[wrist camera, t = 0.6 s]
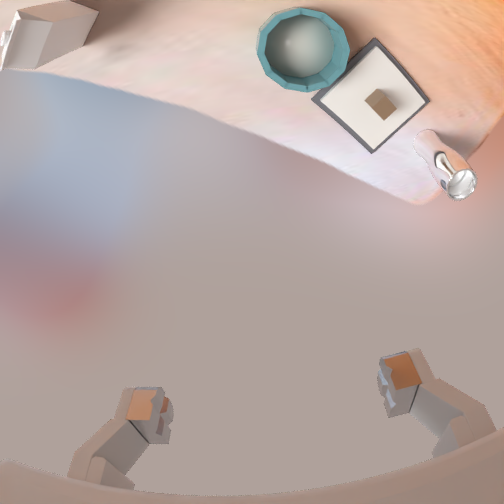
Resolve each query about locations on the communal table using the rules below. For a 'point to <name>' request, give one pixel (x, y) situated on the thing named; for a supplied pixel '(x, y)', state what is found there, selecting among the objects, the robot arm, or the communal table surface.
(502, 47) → the communal table surface
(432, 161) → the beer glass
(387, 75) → the lid
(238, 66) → the communal table surface
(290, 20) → the bowl
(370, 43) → the mat
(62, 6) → the milk carton
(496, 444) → the robot arm
